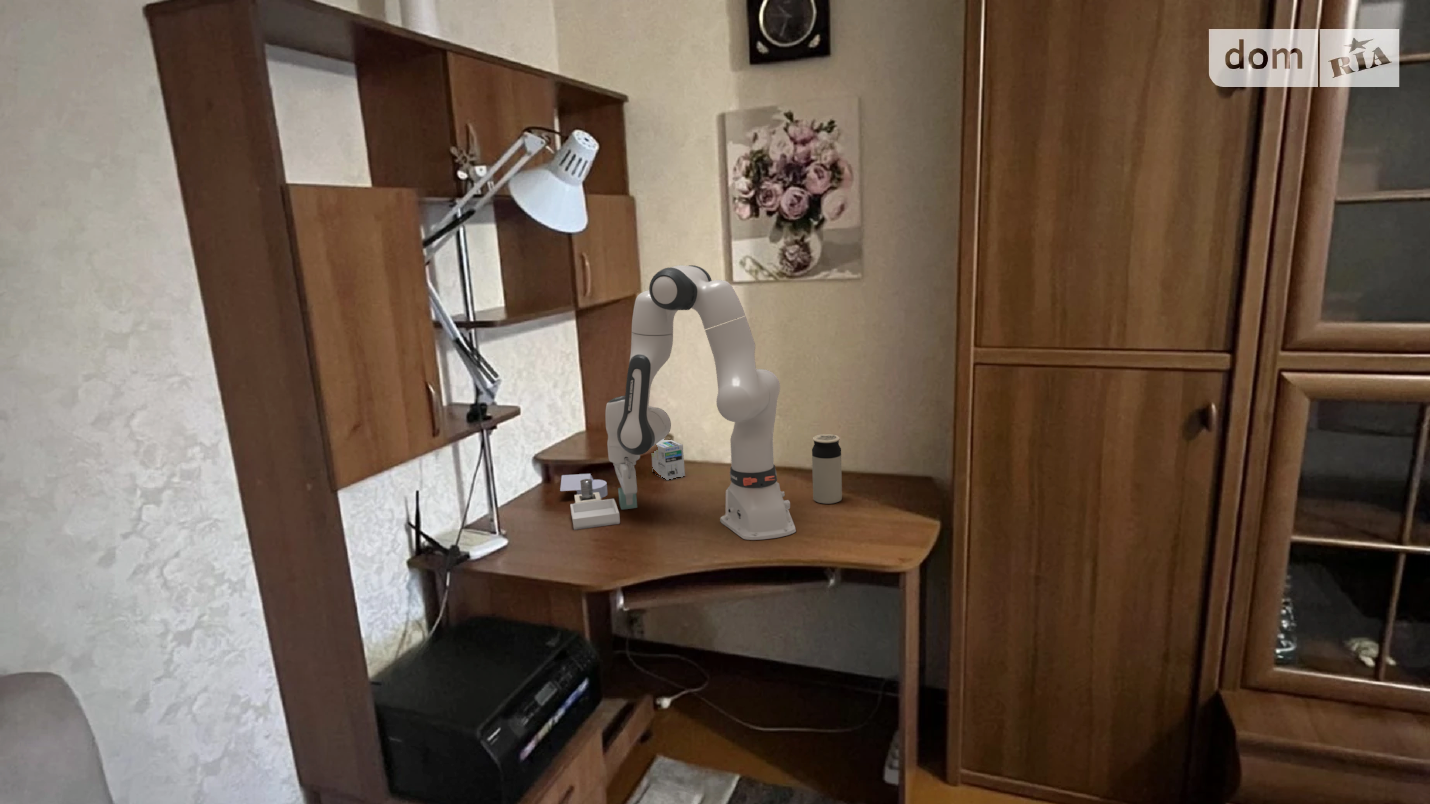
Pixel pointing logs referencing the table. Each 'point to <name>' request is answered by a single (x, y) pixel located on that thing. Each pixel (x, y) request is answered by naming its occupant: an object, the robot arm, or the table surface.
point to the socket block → (579, 500)
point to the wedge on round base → (574, 484)
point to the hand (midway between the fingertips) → (627, 499)
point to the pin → (586, 489)
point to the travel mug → (827, 469)
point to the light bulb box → (668, 459)
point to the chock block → (623, 500)
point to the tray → (594, 514)
